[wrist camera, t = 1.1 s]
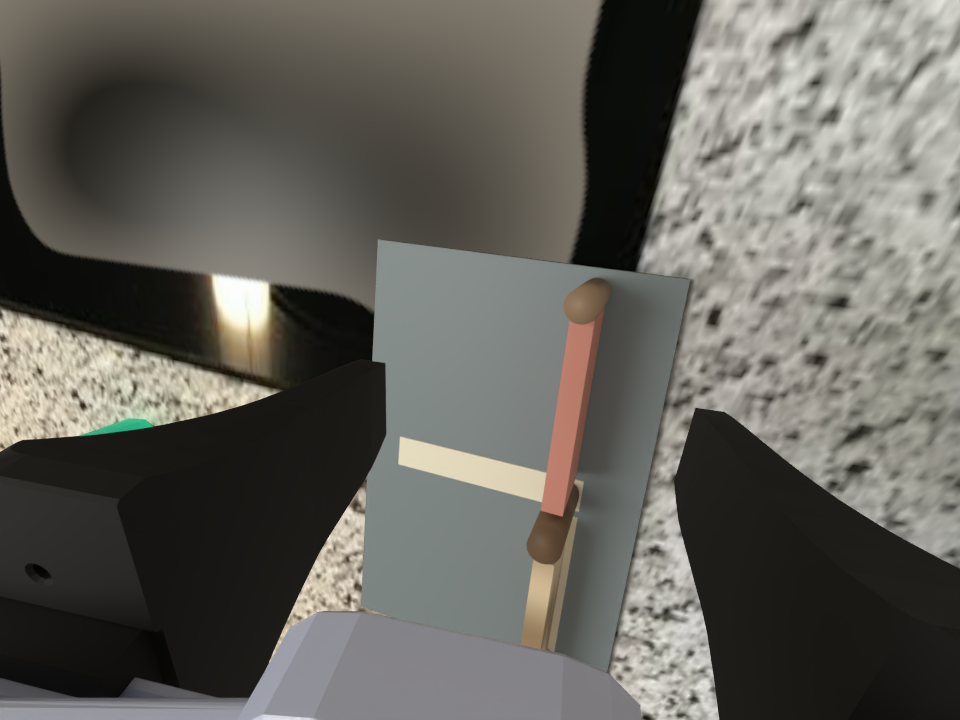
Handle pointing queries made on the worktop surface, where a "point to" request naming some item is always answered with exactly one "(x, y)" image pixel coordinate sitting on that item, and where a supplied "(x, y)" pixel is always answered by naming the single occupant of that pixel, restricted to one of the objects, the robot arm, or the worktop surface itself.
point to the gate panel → (574, 390)
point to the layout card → (507, 440)
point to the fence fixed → (546, 572)
